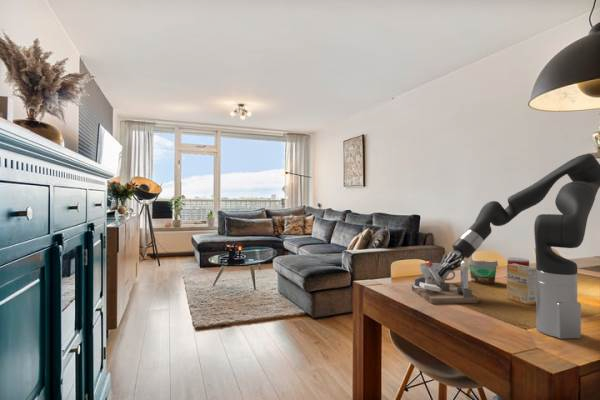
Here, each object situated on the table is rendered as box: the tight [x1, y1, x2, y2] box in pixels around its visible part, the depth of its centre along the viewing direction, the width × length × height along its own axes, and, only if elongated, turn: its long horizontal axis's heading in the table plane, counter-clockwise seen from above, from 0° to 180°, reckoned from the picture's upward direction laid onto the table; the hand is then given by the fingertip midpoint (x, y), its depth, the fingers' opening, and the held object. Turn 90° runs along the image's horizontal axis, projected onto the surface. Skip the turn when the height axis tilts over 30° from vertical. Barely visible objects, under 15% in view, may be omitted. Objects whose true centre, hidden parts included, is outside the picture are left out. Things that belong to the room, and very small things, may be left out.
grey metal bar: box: [460, 260, 469, 294], centre depth 123 cm, size 3×3×12 cm
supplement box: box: [506, 263, 536, 306], centre depth 122 cm, size 8×5×13 cm, turn 21°
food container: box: [467, 258, 499, 285], centre depth 149 cm, size 12×6×10 cm, turn 76°
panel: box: [409, 280, 479, 305], centre depth 130 cm, size 20×18×5 cm
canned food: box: [507, 257, 530, 267], centre depth 147 cm, size 8×8×11 cm
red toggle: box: [425, 260, 444, 287], centre depth 132 cm, size 3×3×12 cm
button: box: [414, 276, 426, 286], centre depth 137 cm, size 4×4×3 cm
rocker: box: [419, 282, 441, 292], centre depth 128 cm, size 4×6×1 cm
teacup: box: [419, 262, 456, 284], centre depth 149 cm, size 15×12×8 cm
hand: (438, 275), depth 133 cm, fingers closed
